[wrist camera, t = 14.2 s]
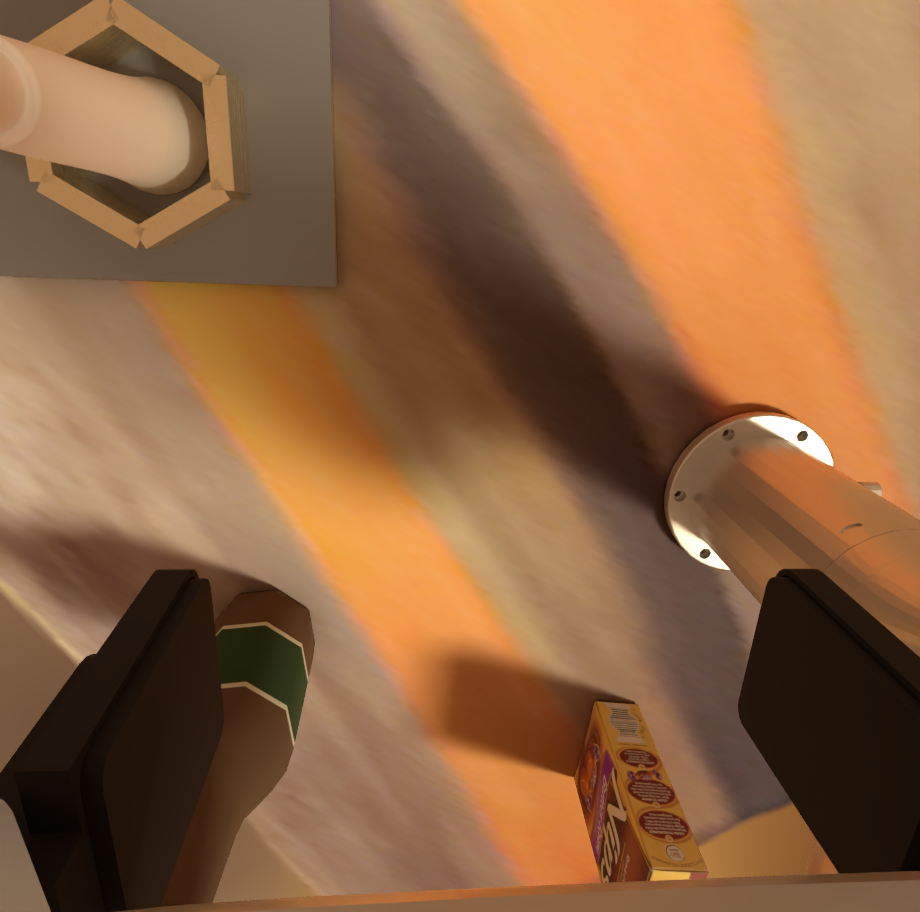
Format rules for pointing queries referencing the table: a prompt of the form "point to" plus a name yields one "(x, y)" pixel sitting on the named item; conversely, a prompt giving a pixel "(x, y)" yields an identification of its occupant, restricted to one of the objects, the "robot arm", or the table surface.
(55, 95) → the cosmetic bottle
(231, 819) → the beer bottle
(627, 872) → the candy box
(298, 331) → the table surface
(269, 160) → the slate board
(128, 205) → the wooden hex collar
